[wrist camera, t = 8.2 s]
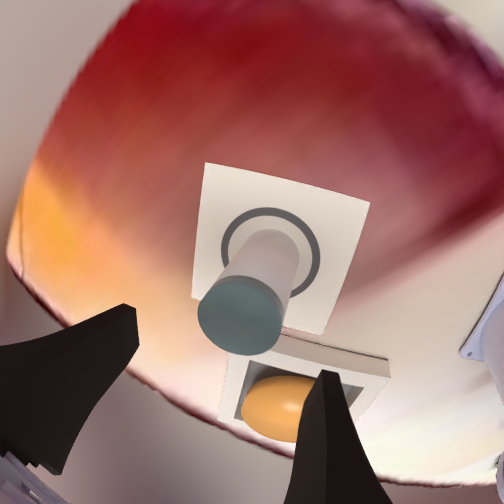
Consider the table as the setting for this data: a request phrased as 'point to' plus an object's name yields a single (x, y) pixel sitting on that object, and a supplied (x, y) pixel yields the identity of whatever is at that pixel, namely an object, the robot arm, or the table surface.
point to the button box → (302, 374)
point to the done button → (276, 406)
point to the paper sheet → (287, 221)
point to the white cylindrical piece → (251, 295)
